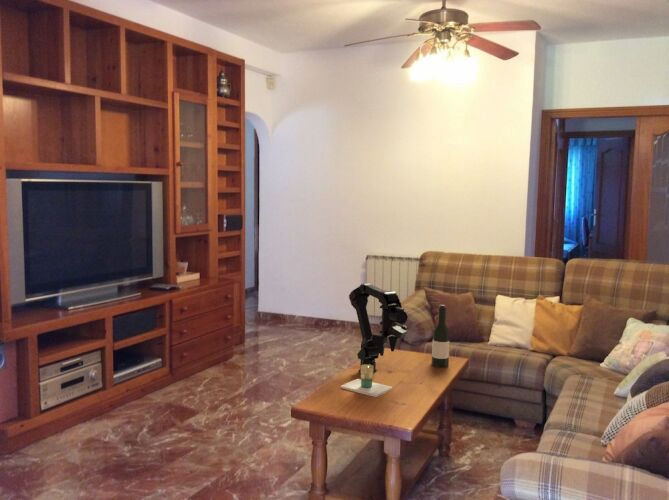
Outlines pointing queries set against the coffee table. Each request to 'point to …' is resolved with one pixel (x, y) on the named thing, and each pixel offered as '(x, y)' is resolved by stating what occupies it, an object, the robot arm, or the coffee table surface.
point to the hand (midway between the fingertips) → (387, 353)
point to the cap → (366, 371)
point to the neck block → (366, 387)
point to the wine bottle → (441, 341)
